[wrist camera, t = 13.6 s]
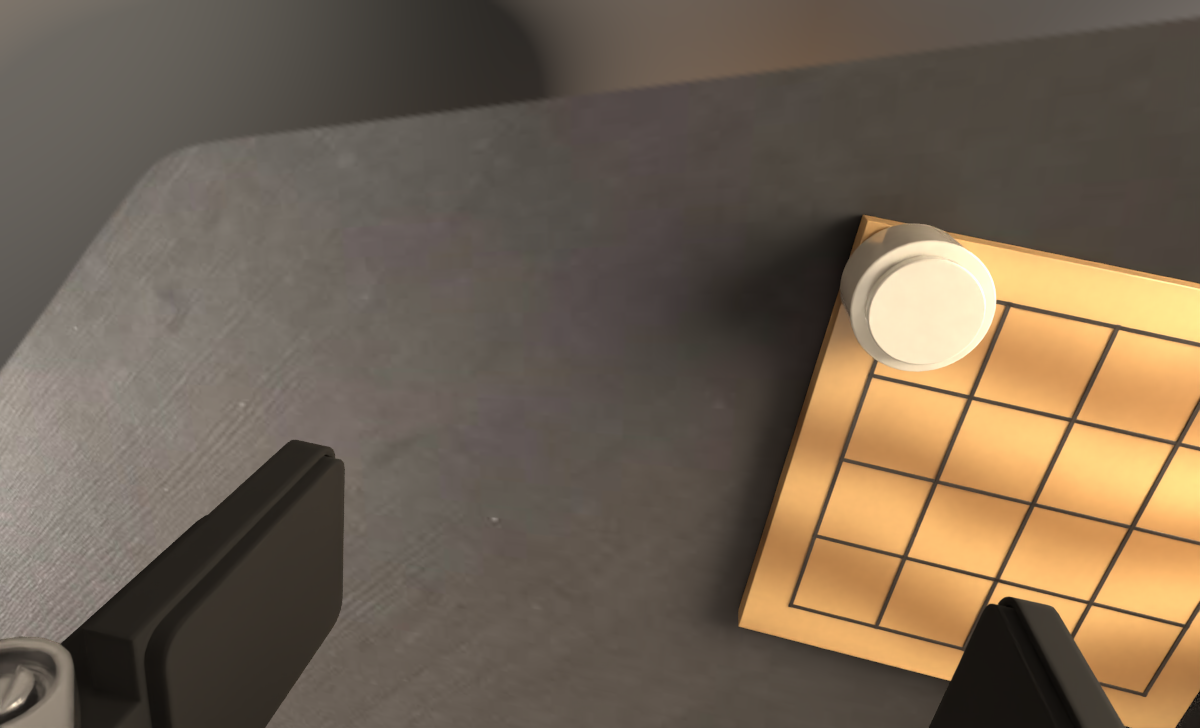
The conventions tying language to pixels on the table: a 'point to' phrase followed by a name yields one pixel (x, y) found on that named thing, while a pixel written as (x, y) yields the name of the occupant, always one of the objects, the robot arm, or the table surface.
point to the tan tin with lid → (917, 297)
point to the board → (1004, 484)
